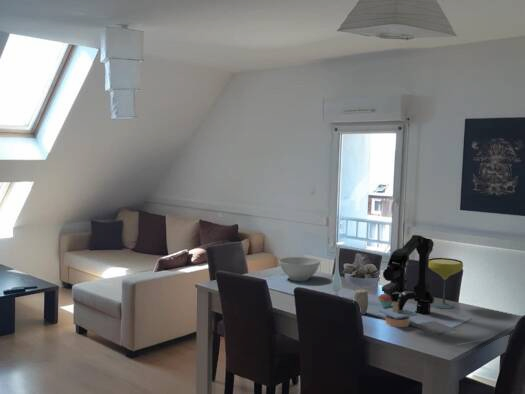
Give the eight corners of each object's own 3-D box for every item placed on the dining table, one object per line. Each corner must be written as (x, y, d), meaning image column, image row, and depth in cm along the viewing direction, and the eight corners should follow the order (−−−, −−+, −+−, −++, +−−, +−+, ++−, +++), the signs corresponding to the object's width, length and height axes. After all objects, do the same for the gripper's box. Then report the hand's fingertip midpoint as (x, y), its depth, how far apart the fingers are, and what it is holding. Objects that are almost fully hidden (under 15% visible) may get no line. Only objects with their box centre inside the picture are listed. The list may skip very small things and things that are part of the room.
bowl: (398, 319, 275) (399, 312, 275) (414, 326, 265) (414, 318, 265) (381, 322, 270) (381, 314, 270) (396, 329, 261) (396, 320, 260)
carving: (367, 315, 282) (368, 292, 281) (352, 314, 284) (353, 291, 283) (367, 311, 289) (368, 289, 288) (353, 310, 290) (353, 288, 289)
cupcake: (390, 309, 293) (391, 287, 292) (375, 307, 297) (376, 285, 296) (396, 306, 300) (396, 284, 299) (381, 303, 305) (381, 282, 304)
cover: (399, 308, 276) (399, 297, 276) (417, 315, 265) (417, 303, 264) (378, 311, 270) (378, 299, 270) (396, 318, 259) (396, 306, 258)
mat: (434, 321, 273) (434, 320, 273) (457, 330, 259) (457, 329, 259) (410, 325, 266) (410, 324, 266) (433, 335, 253) (433, 334, 253)
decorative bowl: (270, 279, 359) (271, 261, 358) (292, 272, 380) (292, 255, 380) (306, 285, 343) (306, 266, 342) (326, 278, 365) (327, 260, 364)
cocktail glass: (468, 307, 299) (469, 262, 297) (447, 312, 289) (449, 265, 287) (440, 299, 314) (441, 256, 312) (419, 304, 304) (421, 259, 302)
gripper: (373, 275, 271) (372, 306, 272) (398, 283, 254) (397, 316, 255) (391, 273, 276) (390, 303, 277) (417, 281, 259) (416, 313, 260)
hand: (398, 309), depth 267 cm, fingers closed on cover, 4 cm apart
